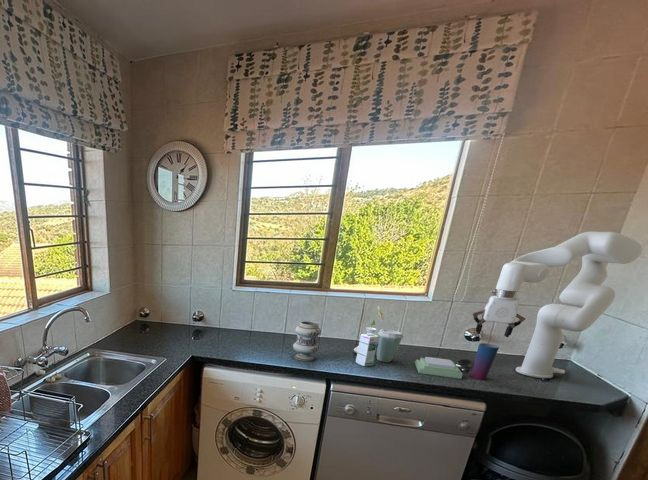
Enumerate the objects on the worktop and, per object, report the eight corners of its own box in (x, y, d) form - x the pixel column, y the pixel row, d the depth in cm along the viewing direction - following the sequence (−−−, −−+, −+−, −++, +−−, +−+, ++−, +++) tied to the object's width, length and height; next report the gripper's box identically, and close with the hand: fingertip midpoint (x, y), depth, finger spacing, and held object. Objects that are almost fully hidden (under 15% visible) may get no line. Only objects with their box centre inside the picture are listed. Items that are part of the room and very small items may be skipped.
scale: (454, 368, 187) (457, 361, 186) (461, 378, 175) (463, 371, 174) (414, 363, 194) (416, 356, 192) (418, 372, 182) (420, 365, 181)
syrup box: (364, 366, 189) (370, 336, 184) (354, 362, 195) (360, 333, 189) (374, 365, 191) (380, 336, 185) (364, 361, 196) (370, 332, 191)
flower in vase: (372, 359, 198) (383, 309, 189) (349, 354, 207) (358, 305, 197) (383, 354, 206) (394, 306, 197) (360, 349, 214) (370, 302, 205)
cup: (491, 381, 173) (503, 348, 168) (473, 380, 174) (484, 347, 169) (482, 375, 179) (493, 343, 174) (465, 374, 181) (475, 342, 175)
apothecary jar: (294, 352, 208) (299, 318, 201) (318, 356, 202) (325, 321, 196) (288, 359, 198) (294, 323, 192) (314, 363, 193) (320, 327, 186)
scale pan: (449, 363, 186) (450, 359, 185) (454, 369, 177) (455, 366, 177) (424, 359, 190) (425, 356, 189) (427, 366, 181) (428, 363, 181)
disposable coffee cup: (382, 355, 205) (389, 327, 199) (402, 362, 195) (409, 332, 190) (367, 357, 201) (373, 328, 195) (386, 364, 192) (393, 334, 186)
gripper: (482, 293, 164) (468, 334, 170) (536, 297, 157) (520, 340, 163) (477, 291, 170) (464, 330, 176) (529, 295, 163) (514, 335, 169)
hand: (491, 334), depth 170 cm, fingers open, 9 cm apart
